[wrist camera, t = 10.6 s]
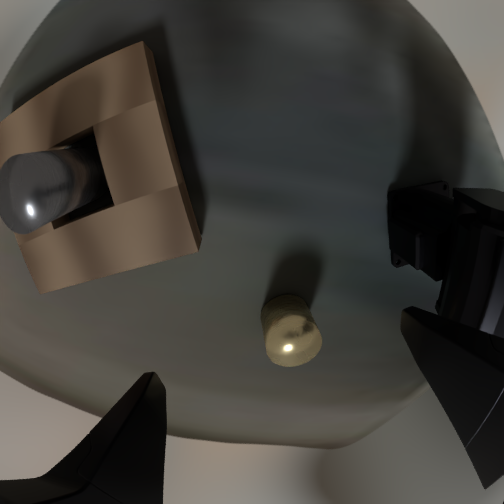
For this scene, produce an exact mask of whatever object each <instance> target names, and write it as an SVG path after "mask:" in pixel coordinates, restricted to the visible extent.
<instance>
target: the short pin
mask: <svg viewBox="0 0 504 504" xmlns="http://www.w3.org/2000/svg"><path fill="white" fill-rule="evenodd" d="M261 323H262V329H263V334H264V340H265V345H266V350H267V355H268V357H269V358H270V359H271V361H273V362H274V363H276V364H278V365H281V366H286V367H292V366H298V365H301V364H304V363H306V362H308V361H310V360H311V359H312V358H314V357H315V356H316V355H317V353H318V352H319V350H320V348H321V345H322V337H321V334H320V332H319V330H318V327H317V325H316V323H315V321H314V319H313V317H312V314H311V312H310V310H309V308H308V306H307V304H306V302H305V301H304V300H303V299H302V298H300V297H298V296H295V295H288V294H287V295H280V296H277V297H275V298H273V299H271V300H270V301H269V302H268V303H267V304H266V305H265V306H264V308H263V309H262V312H261Z"/></svg>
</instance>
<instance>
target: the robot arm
mask: <svg viewBox="0 0 504 504" xmlns="http://www.w3.org/2000/svg"><path fill="white" fill-rule="evenodd" d="M443 185H444V188H443ZM394 195H395V199H394V200H393V196H394ZM453 197H454V199H452V198H449V185H448V183H447V182H445V181H438V182H433V183H428V184H422V185H417V186H412V187H407V188H402V189H398V190H393V191H390V192H389V194H388V208H389V220H388V228H389V248H390V250H391V263H392V265H393V266H394V267H396V268H398V267H401V266H404V265H407V264H410V265H411V266H413V267H414V268H415V269H416V270H420V269H421V270H422V271H423V272H425V273H426V274H427V275H428V276H430V277H431V278H432V279H433V280H435V281H440V280H443V281H442V285H441V290H440V294H439V298H438V300H437V301H436V305H435V309H436V311H437V313H438V315H436V314H434V313H431V312H428V311H425V310H422V309H420V308H417V307H414V306H410V307H408V308H405V309H403V310H402V314H401V332H402V335H403V337H404V339H405V341H406V343H407V345H408V347H409V349H410V351H411V353H412V355H413V357H414V359H415V361H416V363H417V365H418V367H419V368H420V370H421V372H422V373H423V375H424V376H425V378H426V380H427V381H428V383H429V385H430V386H431V388H432V390H433V391H434V393H435V395H436V396H437V398H438V400H439V402H440V403H441V405H442V407H443V408H444V410H445V412H446V414H447V415H448V417H449V419H450V421H451V422H452V424H453V426H454V428H455V430H456V432H457V434H458V435H459V438H460V440H461V441H462V443H463V445H464V447H465V449H466V451H467V454H468V456H469V458H470V459H471V461H472V463H473V466H474V468H475V470H476V472H477V474H478V476H479V479H480V481H481V483H482V485H483V487H484V489H487V488H488V487H489V486H491V485H492V484H493V483H495V482H496V481H497V480H498V479H499V478H501V477H502V476H503V475H504V192H502V191H498V190H495V189H483V188H453ZM398 259H399V260H398ZM397 260H398V262H397V263H396V261H397ZM166 433H167V413H166V389H165V387H164V385H163V383H162V382H161V380H160V378H159V377H158V375H157V374H156V373H155V372H147V373H144V374H143V375H142V376H141V377H140V378H139V379H138V380H137V381H136V382H135V383H134V384H133V386H132V387H131V388H130V389H129V390H128V391H127V392H126V393H125V394H124V395H123V396H122V398H121V399H120V400H119V401H118V402H117V403H116V404H115V405H114V406H113V407H112V408H111V410H110V411H109V412H108V413H107V414H106V415H105V416H104V417H103V418H102V419H101V420H100V421H99V423H98V424H97V425H96V426H95V427H94V428H93V429H92V430H91V431H90V433H89V434H87V436H86V437H85V438H84V439H83V440H82V441H81V442H80V443H79V444H78V445H77V446H76V447H75V448H74V449H73V450H72V451H71V452H70V453H69V454H68V455H67V456H65V457H64V458H63V459H62V460H61V461H60V462H59V463H58V464H56V465H55V466H54V467H53V468H52V469H51V470H50V471H48V472H47V473H46V474H44V475H42V476H40V477H37V478H30V479H18V480H0V504H163V484H164V463H165V446H166ZM503 504H504V502H503Z"/></svg>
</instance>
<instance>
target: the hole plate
mask: <svg viewBox="0 0 504 504" xmlns="http://www.w3.org/2000/svg"><path fill="white" fill-rule="evenodd" d="M92 134H95V138H96V142H97V146H98V150H99V154H100V158H101V161H102V165H103V169H104V172H105V176H106V179H107V183H108V186H109V189H110V192H111V196H112V199H113V202H114V203H113V204H111V205H108V206H105V207H103V208H100V209H97V210H95V211H92V212H90V213H87V214H84V215H82V216H79V217H77V218H74V219H72V220H70V218H69V215H68V213H67V214H65V215H63V216H61V217H59V218H57V219H55V220H53V221H51V222H49V223H47V224H46V225H44V226H42V227H40V228H38V229H36V230H34V231H33V232H31V233H28V234H18V233H15V232H14V234H15V237H16V239H17V242H18V245H19V247H20V250H21V252H22V255H23V257H24V260H25V262H26V264H27V267H28V269H29V271H30V274H31V276H32V278H33V280H34V282H35V284H36V287H37V289H38V291H39V293H40V294H43V293H47V292H50V291H54V290H58V289H61V288H65V287H68V286H72V285H76V284H79V283H83V282H87V281H90V280H94V279H98V278H101V277H105V276H109V275H112V274H116V273H120V272H124V271H127V270H131V269H135V268H139V267H142V266H146V265H150V264H154V263H158V262H161V261H165V260H169V259H173V258H177V257H181V256H184V255H188V254H192V253H196V252H198V251H199V248H200V244H201V240H202V238H201V235H200V231H199V228H198V225H197V221H196V218H195V215H194V211H193V208H192V205H191V201H190V198H189V194H188V191H187V187H186V184H185V180H184V177H183V173H182V170H181V166H180V162H179V159H178V155H177V151H176V147H175V144H174V140H173V136H172V132H171V128H170V124H169V120H168V116H167V112H166V108H165V104H164V100H163V96H162V92H161V88H160V83H159V79H158V75H157V70H156V66H155V61H154V56H153V52H152V51H151V50H150V49H149V47H148V46H147V45H146V44H145V43H144V42H143V41H141V42H138V43H136V44H133V45H131V46H128V47H126V48H123V49H121V50H119V51H116V52H114V53H112V54H110V55H107V56H105V57H103V58H101V59H99V60H97V61H95V62H93V63H91V64H89V65H87V66H85V67H83V68H81V69H79V70H77V71H76V72H74V73H72V74H70V75H68V76H67V77H65V78H63V79H62V80H60V81H58V82H57V83H55V84H53V85H52V86H50V87H49V88H47V89H45V90H44V91H42V92H41V93H39V94H38V95H36V96H35V97H33V98H32V99H31V100H29V101H28V102H26V103H25V104H23V105H22V106H21V107H19V108H18V109H17V110H15V111H14V112H13V113H12V114H10V115H9V116H8V117H6V118H5V119H4V120H3V121H1V122H0V169H1V167H2V166H3V164H4V163H5V162H6V160H8V159H9V158H10V157H12V156H14V155H17V154H24V153H31V152H39V151H48V150H58V149H64V148H66V147H67V146H69V145H71V144H73V143H75V142H77V141H79V140H81V139H83V138H85V137H87V136H90V135H92Z"/></svg>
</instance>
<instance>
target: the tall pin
mask: <svg viewBox="0 0 504 504" xmlns="http://www.w3.org/2000/svg"><path fill="white" fill-rule="evenodd" d="M108 187H109V186H108V183H107V179H106V176H105V172H104V169H103V165H102V161H101V158H100V154H99V150H98V149H97V148H93V147H83V148H69V149H58V150H48V151H39V152H31V153H24V154H17V155H14V156H12V157H10V158H9V159H8V160H6V162H5V163H4V164H3V166H2V167H1V169H0V216H1V218H2V220H3V221H4V223H5V224H6V225H7V227H8V228H10V229H11V230H12V231H14V232H15V233H18V234H28V233H31V232H33V231H34V230H36V229H38V228H40V227H42V226H44V225H46V224H47V223H49V222H51V221H53V220H55V219H57V218H59V217H61V216H63V215H65V214H67V213H69V212H71V211H73V210H75V209H77V208H79V207H81V206H83V205H86V204H88V203H90V202H92V201H94V200H96V199H98V198H100V197H101V196H102V195H103V194H104V193H105V192H106V190H107V189H108Z"/></svg>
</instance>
